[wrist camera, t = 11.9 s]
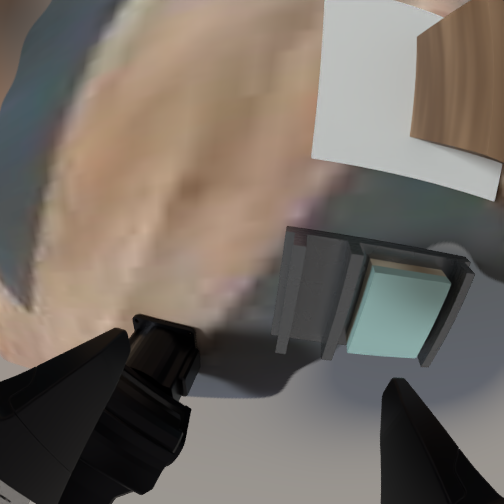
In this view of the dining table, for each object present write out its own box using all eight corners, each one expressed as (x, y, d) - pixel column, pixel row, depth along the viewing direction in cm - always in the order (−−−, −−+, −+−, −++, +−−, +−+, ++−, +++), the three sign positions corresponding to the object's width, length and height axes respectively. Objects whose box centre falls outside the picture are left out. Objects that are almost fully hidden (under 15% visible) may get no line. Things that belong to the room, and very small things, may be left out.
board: (311, 156, 18) (311, 158, 17) (324, -8, 13) (325, -14, 12) (487, 197, 16) (494, 201, 15) (502, 51, 11) (508, 50, 10)
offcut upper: (346, 343, 21) (347, 352, 20) (372, 265, 18) (375, 272, 17) (413, 349, 20) (415, 358, 20) (446, 276, 17) (451, 283, 16)
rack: (272, 326, 24) (267, 351, 22) (287, 226, 20) (283, 243, 18) (426, 344, 22) (435, 367, 20) (465, 256, 18) (481, 275, 16)
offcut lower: (345, 335, 22) (346, 344, 21) (369, 258, 19) (372, 265, 18) (410, 342, 21) (413, 349, 20) (441, 269, 18) (446, 276, 17)
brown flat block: (409, 136, 15) (486, 155, 7) (416, 36, 12) (486, -10, 4) (436, 144, 15) (521, 170, 7) (443, 46, 12) (522, 13, 4)
